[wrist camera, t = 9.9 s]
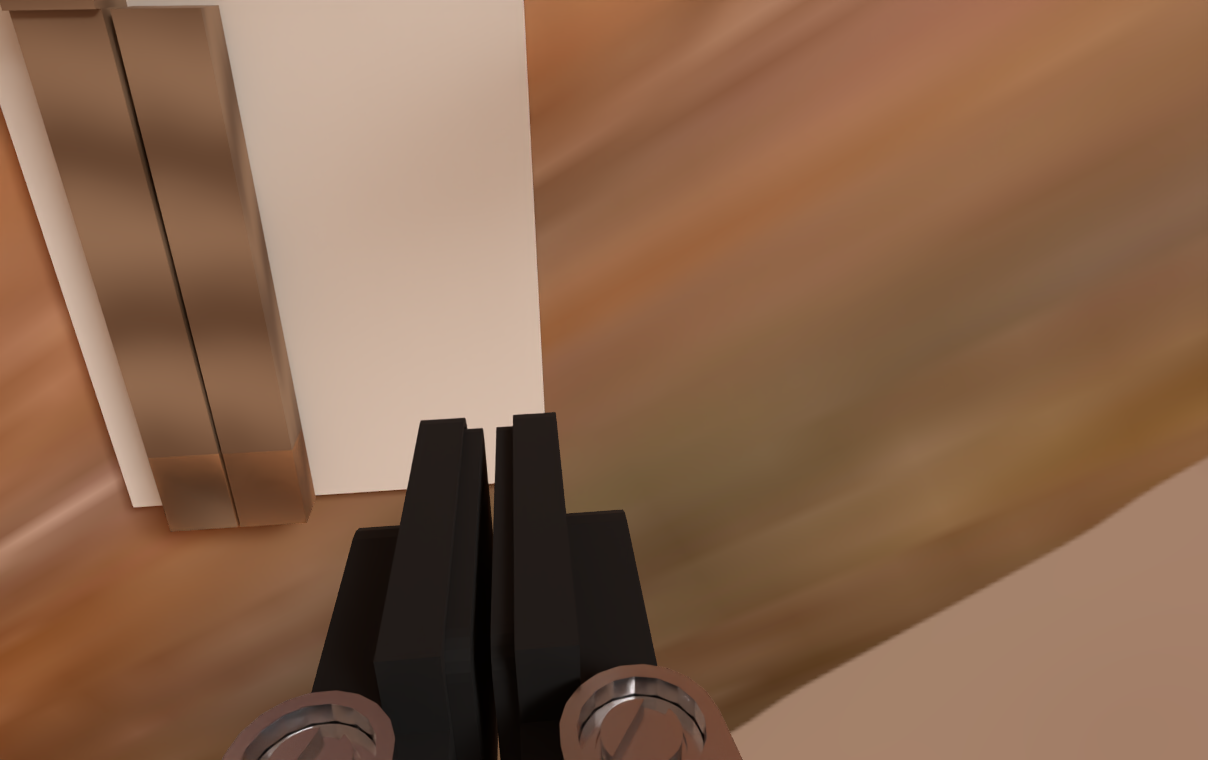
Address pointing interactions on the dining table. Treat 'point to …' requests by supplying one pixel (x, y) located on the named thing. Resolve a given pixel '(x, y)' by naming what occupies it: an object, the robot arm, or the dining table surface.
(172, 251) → the tongs arm
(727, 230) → the dining table surface
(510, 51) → the board
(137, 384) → the tongs base
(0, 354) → the dining table surface
